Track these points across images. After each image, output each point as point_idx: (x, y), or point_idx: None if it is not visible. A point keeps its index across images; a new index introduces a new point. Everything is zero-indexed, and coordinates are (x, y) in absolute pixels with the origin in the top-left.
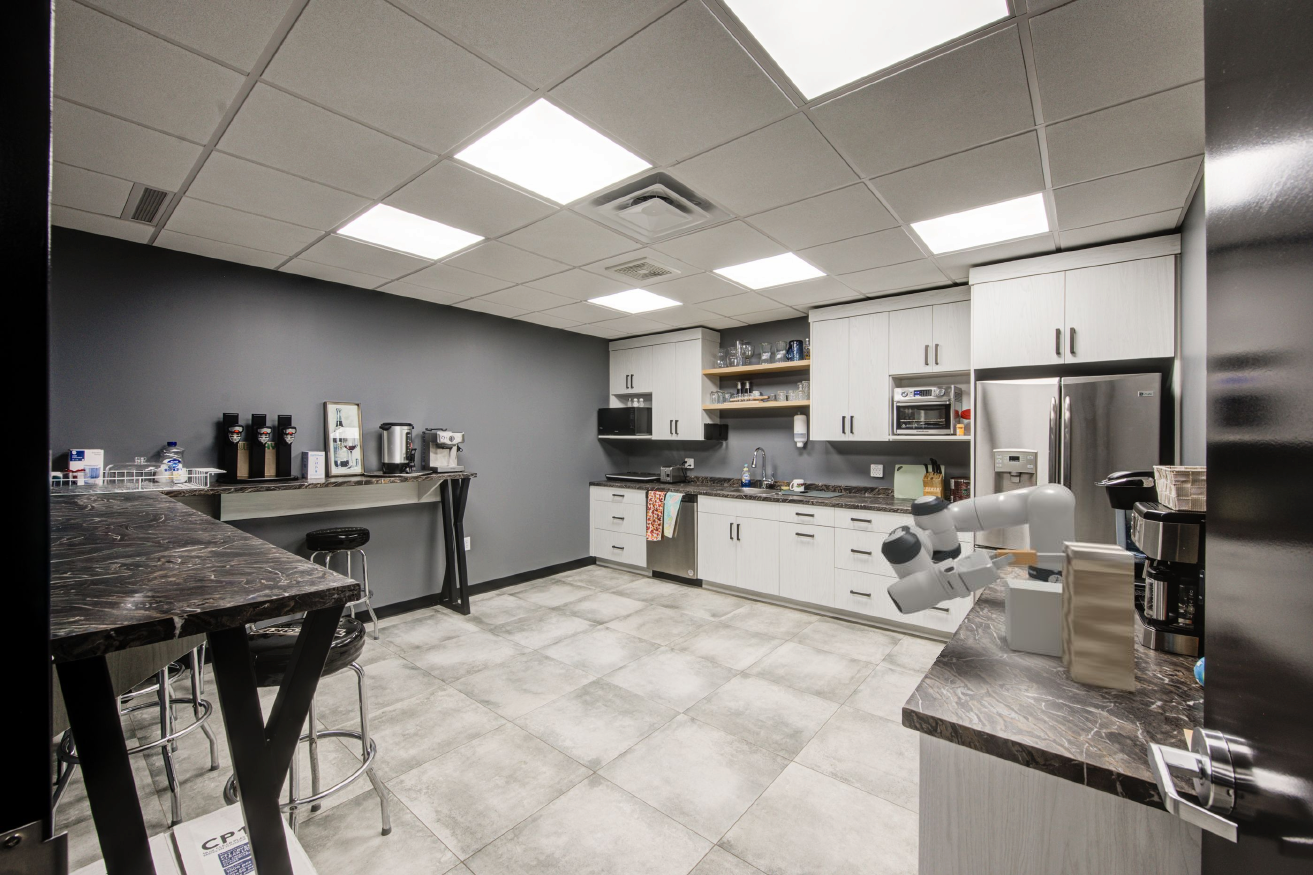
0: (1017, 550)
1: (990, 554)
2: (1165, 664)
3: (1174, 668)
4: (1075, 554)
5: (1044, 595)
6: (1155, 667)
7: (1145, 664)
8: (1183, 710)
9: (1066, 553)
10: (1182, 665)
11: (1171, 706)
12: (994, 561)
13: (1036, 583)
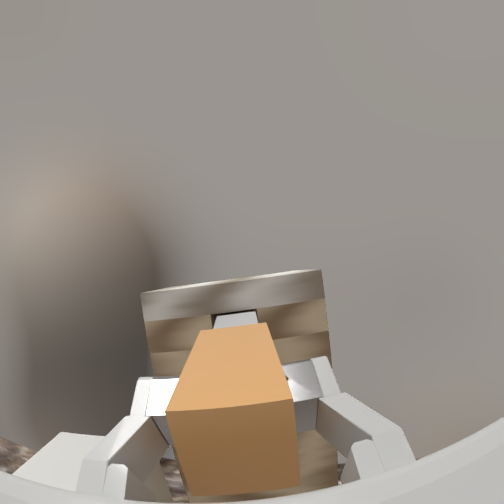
0: (210, 352)
1: (91, 482)
2: (164, 469)
3: (177, 466)
4: (322, 282)
5: None
6: (181, 478)
7: (172, 484)
8: (343, 467)
9: (210, 317)
10: (162, 458)
11: (339, 474)
12: (406, 450)
13: (44, 471)
